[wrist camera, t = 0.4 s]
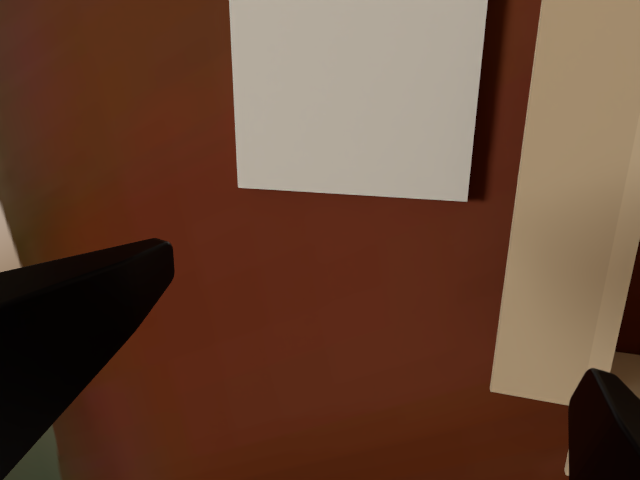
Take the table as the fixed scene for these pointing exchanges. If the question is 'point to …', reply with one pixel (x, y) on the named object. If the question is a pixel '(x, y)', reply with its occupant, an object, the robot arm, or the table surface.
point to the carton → (574, 205)
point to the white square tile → (357, 95)
